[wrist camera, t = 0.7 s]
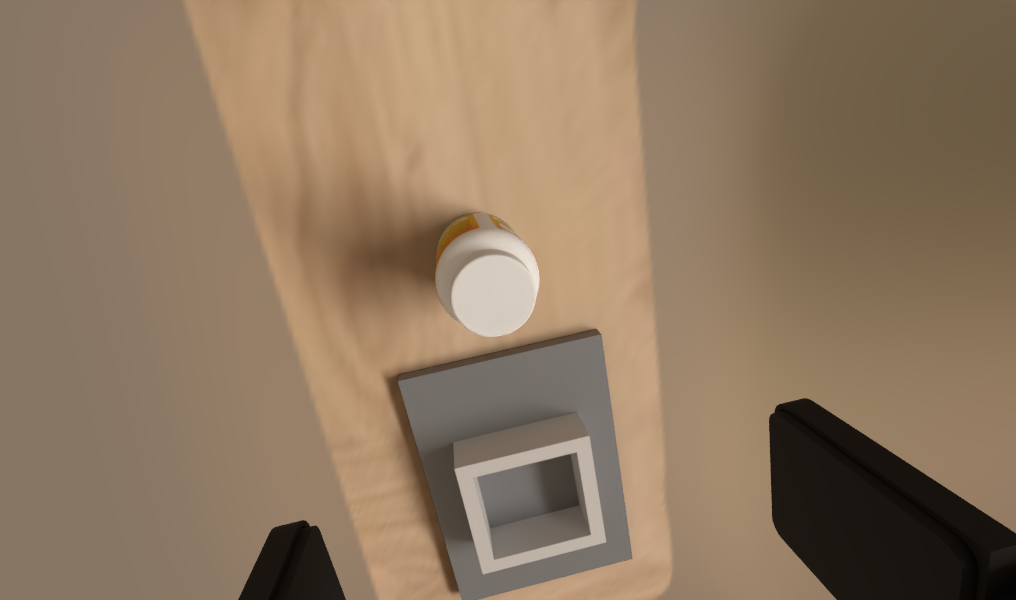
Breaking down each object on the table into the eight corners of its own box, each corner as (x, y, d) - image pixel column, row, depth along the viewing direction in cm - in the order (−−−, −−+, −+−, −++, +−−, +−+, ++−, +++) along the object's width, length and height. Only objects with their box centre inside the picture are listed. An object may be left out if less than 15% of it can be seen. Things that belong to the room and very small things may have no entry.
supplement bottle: (435, 293, 32) (433, 352, 22) (436, 210, 30) (434, 236, 21) (517, 294, 32) (547, 352, 23) (522, 213, 31) (556, 240, 22)
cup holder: (398, 374, 33) (393, 403, 29) (596, 329, 34) (616, 351, 30) (462, 592, 39) (464, 639, 36) (627, 549, 40) (647, 590, 36)
